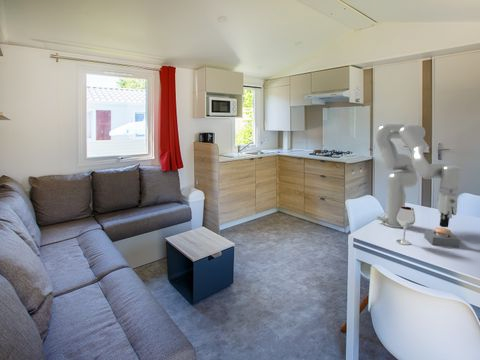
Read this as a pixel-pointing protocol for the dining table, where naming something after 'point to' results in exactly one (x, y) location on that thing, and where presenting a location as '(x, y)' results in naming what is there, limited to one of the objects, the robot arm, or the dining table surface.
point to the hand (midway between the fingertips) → (443, 226)
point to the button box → (442, 239)
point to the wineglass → (405, 221)
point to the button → (442, 232)
